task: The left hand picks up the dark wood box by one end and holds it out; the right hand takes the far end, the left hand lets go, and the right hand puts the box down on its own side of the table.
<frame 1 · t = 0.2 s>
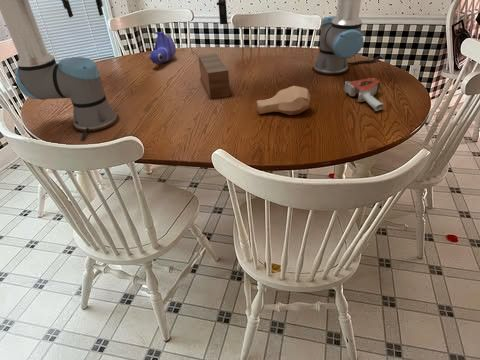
left hand: (86, 16, 157), 28 cm above the table, tool pointing down, fingers open, 13 cm apart
right hand: (223, 19, 137), 28 cm above the table, tool pointing down, fingers open, 13 cm apart
squash: (283, 112, 132), on the table
tape dispenser: (363, 99, 137), on the table
toy: (163, 63, 186), on the table
box: (214, 87, 156), on the table
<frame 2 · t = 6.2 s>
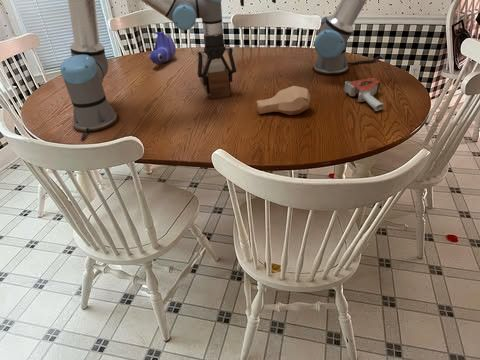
left hand: (218, 91, 148), 2 cm above the table, tool pointing down, fingers closed on box, 8 cm apart
right hand: (258, 4, 146), 30 cm above the table, tool pointing down, fingers open, 13 cm apart
box: (214, 87, 156), on the table, touching left hand
everything else where it was.
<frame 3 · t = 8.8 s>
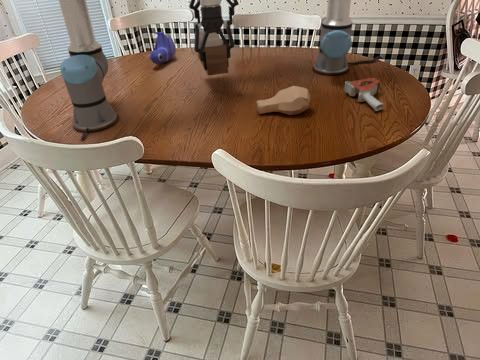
left hand: (216, 67, 142), 12 cm above the table, tool pointing down, fingers closed on box, 8 cm apart
right hand: (215, 25, 150), 23 cm above the table, tool pointing down, fingers open, 13 cm apart
box: (212, 64, 150), point 10 cm above the table, touching left hand
everything else where it was.
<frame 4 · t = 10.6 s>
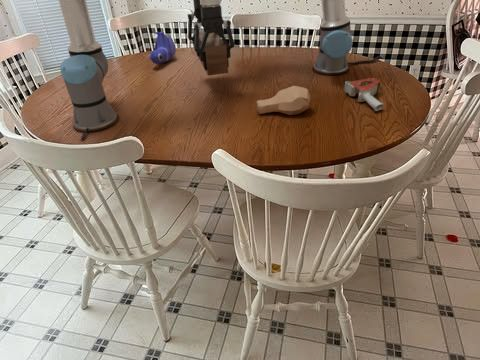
left hand: (216, 67, 142), 12 cm above the table, tool pointing down, fingers closed on box, 8 cm apart
right hand: (208, 54, 156), 12 cm above the table, tool pointing down, fingers closed on box, 8 cm apart
box: (212, 64, 150), point 10 cm above the table, touching left hand, right hand
everything else where it was.
when the left hand's fingers open (12 cm above the table, at t = 11.7 s): box stays where it is, held by the right hand.
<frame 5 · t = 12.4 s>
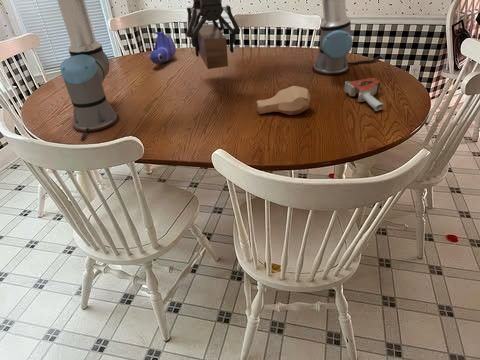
left hand: (214, 53, 137), 17 cm above the table, tool pointing down, fingers open, 13 cm apart
right hand: (207, 48, 155), 14 cm above the table, tool pointing down, fingers closed on box, 8 cm apart
box: (212, 58, 149), point 12 cm above the table, touching right hand
everything else where it was.
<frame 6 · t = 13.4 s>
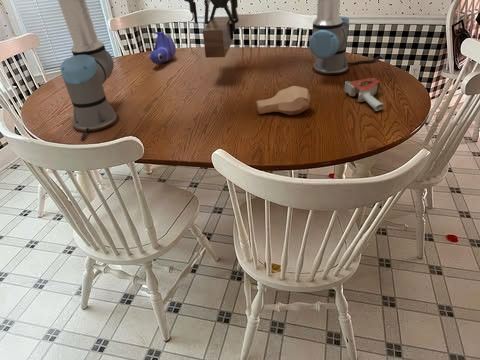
left hand: (215, 20, 126), 30 cm above the table, tool pointing down, fingers open, 13 cm apart
right hand: (223, 39, 166), 14 cm above the table, tool pointing down, fingers closed on box, 8 cm apart
box: (220, 48, 159), point 12 cm above the table, touching right hand
everything else where it was.
when the right hand's fingers open (3 cm above the table, at t = 16.2 s): box drops 1 cm, on the table.
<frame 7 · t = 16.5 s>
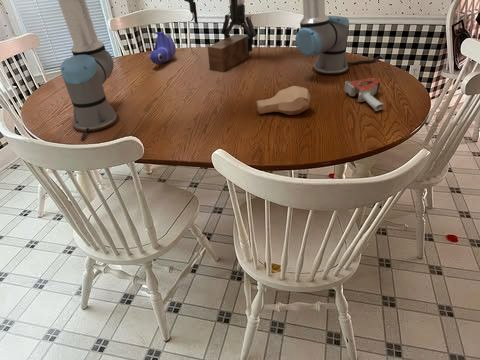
left hand: (215, 20, 126), 30 cm above the table, tool pointing down, fingers open, 13 cm apart
right hand: (239, 49, 185), 4 cm above the table, tool pointing down, fingers open, 12 cm apart
box: (230, 63, 181), on the table
everything else where it was.
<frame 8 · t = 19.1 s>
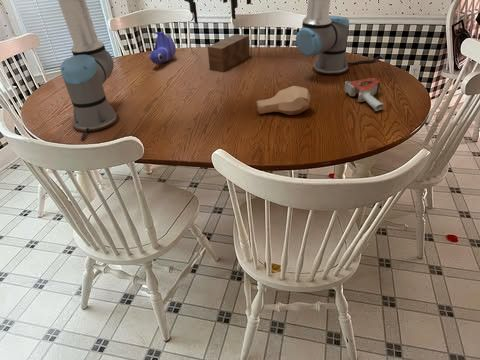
left hand: (215, 20, 126), 30 cm above the table, tool pointing down, fingers open, 13 cm apart
right hand: (236, 3, 172), 26 cm above the table, tool pointing down, fingers open, 13 cm apart
nothing on the table moved.
at the end: box inside the target area (9.0 cm from its centre), on the table; the left hand is holding nothing; the right hand is holding nothing; box at rest at the end (0.0 cm/s) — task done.
